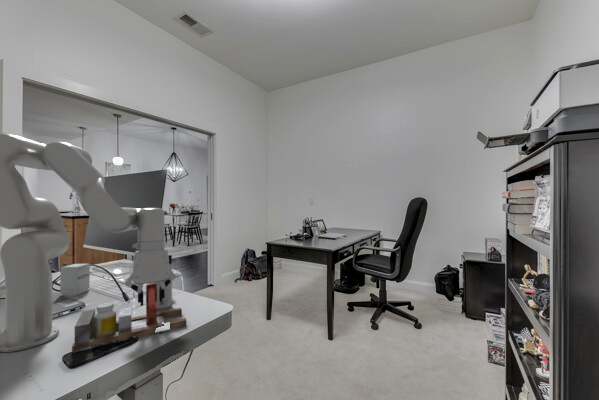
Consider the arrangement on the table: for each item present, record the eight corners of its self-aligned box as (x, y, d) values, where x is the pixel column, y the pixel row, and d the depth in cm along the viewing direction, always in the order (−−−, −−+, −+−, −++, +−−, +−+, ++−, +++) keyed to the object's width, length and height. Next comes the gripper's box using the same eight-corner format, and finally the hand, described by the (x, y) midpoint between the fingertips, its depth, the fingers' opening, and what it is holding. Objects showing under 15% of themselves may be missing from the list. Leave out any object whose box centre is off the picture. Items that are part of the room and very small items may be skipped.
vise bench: (72, 353, 68) (72, 327, 68) (80, 334, 78) (80, 311, 78) (186, 326, 83) (186, 304, 83) (181, 313, 93) (180, 293, 93)
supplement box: (76, 296, 113) (76, 267, 113) (59, 296, 113) (59, 267, 113) (90, 290, 120) (90, 263, 120) (74, 290, 120) (74, 263, 121)
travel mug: (165, 312, 94) (164, 257, 95) (149, 310, 96) (149, 256, 96) (176, 305, 101) (176, 254, 101) (161, 304, 102) (161, 253, 102)
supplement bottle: (88, 342, 74) (88, 308, 74) (101, 333, 79) (101, 301, 79) (108, 341, 74) (108, 307, 74) (120, 332, 80) (120, 301, 80)
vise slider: (118, 338, 75) (118, 292, 76) (120, 328, 82) (120, 286, 82) (164, 327, 82) (164, 285, 82) (162, 318, 88) (162, 280, 88)
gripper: (118, 250, 76) (118, 312, 76) (181, 245, 85) (181, 300, 85) (120, 247, 82) (120, 304, 82) (178, 242, 91) (178, 294, 91)
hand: (151, 302), depth 83 cm, fingers open, 4 cm apart
